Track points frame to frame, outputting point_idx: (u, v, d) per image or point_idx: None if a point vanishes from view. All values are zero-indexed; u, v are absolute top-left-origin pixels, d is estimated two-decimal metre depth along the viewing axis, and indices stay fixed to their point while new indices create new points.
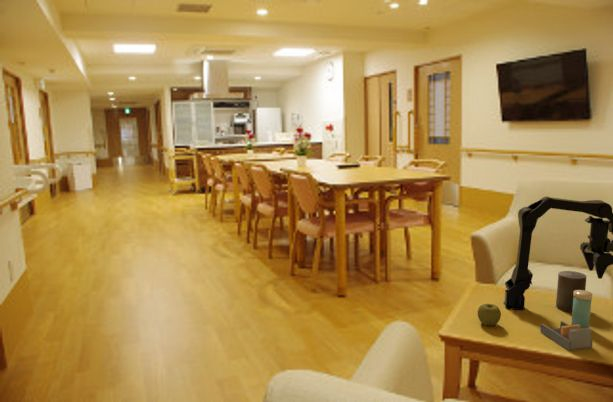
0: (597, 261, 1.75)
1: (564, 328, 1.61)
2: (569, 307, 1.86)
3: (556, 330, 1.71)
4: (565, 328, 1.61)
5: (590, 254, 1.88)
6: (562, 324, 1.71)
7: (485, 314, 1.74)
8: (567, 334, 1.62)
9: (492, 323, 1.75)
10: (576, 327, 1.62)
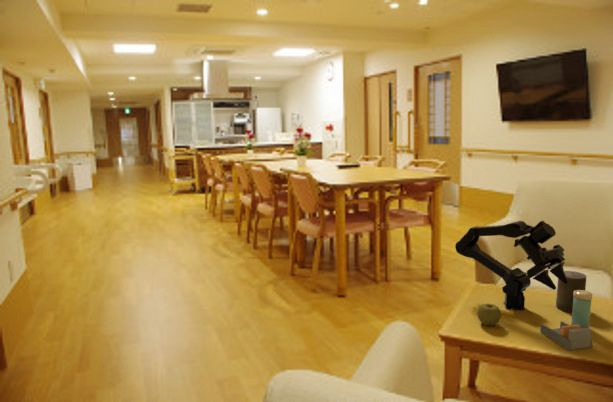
0: (529, 277, 1.77)
1: (564, 328, 1.61)
2: (569, 307, 1.86)
3: (556, 330, 1.71)
4: (565, 328, 1.61)
5: (555, 268, 1.83)
6: (562, 324, 1.71)
7: (485, 314, 1.74)
8: (567, 334, 1.62)
9: (492, 323, 1.75)
10: (576, 327, 1.62)
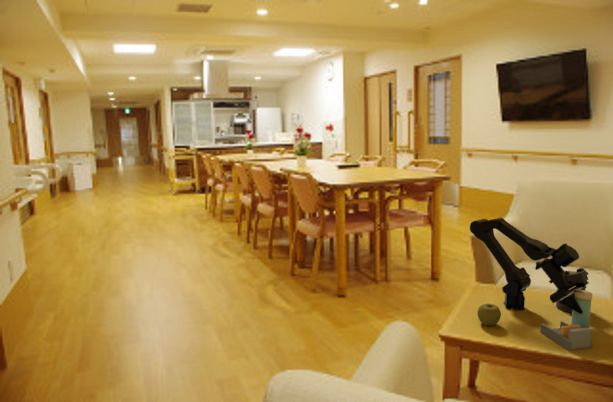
0: (552, 302, 1.71)
1: (564, 328, 1.61)
2: None
3: (556, 330, 1.71)
4: (565, 328, 1.61)
5: None
6: (562, 324, 1.71)
7: (485, 314, 1.74)
8: (567, 334, 1.62)
9: (492, 323, 1.75)
10: (576, 327, 1.62)
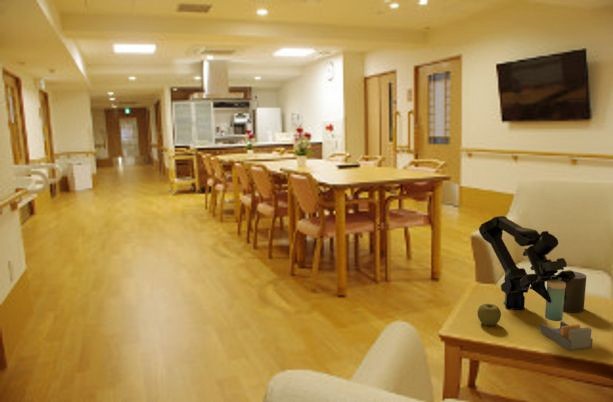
0: None
1: (564, 328, 1.61)
2: (569, 307, 1.86)
3: (556, 330, 1.71)
4: (565, 328, 1.61)
5: None
6: (562, 324, 1.71)
7: (485, 314, 1.74)
8: (567, 334, 1.62)
9: (492, 323, 1.75)
10: (576, 327, 1.62)
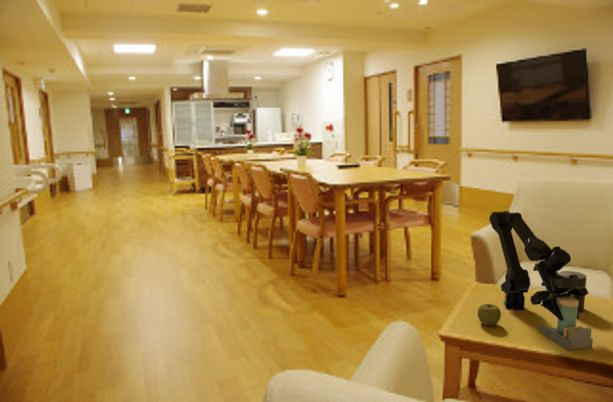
0: None
1: (567, 330, 1.60)
2: None
3: (556, 330, 1.71)
4: (568, 330, 1.60)
5: None
6: None
7: (485, 314, 1.74)
8: None
9: (492, 323, 1.75)
10: None
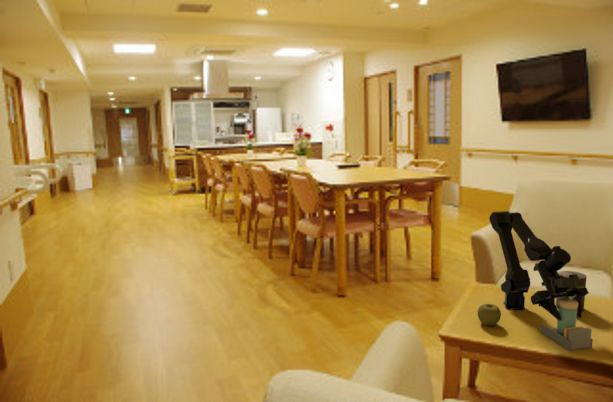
0: None
1: (567, 330, 1.60)
2: None
3: (556, 330, 1.71)
4: (568, 330, 1.60)
5: None
6: None
7: (485, 314, 1.74)
8: None
9: (492, 323, 1.75)
10: None
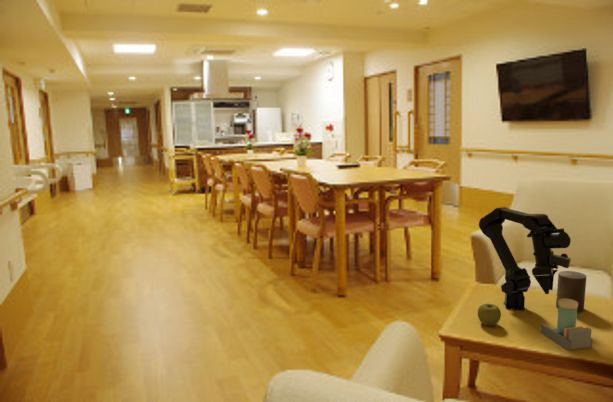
0: (532, 273, 1.71)
1: (567, 330, 1.60)
2: None
3: (556, 330, 1.71)
4: (568, 330, 1.60)
5: None
6: None
7: (485, 314, 1.74)
8: None
9: (492, 323, 1.75)
10: None
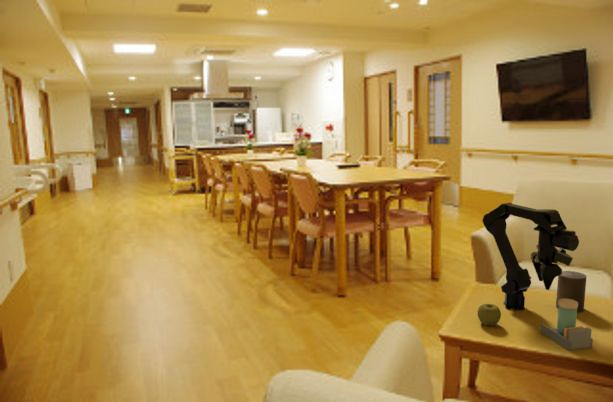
0: (543, 272, 1.70)
1: (567, 330, 1.60)
2: None
3: (556, 330, 1.71)
4: (568, 330, 1.60)
5: (540, 264, 1.83)
6: None
7: (485, 314, 1.74)
8: None
9: (492, 323, 1.75)
10: None
